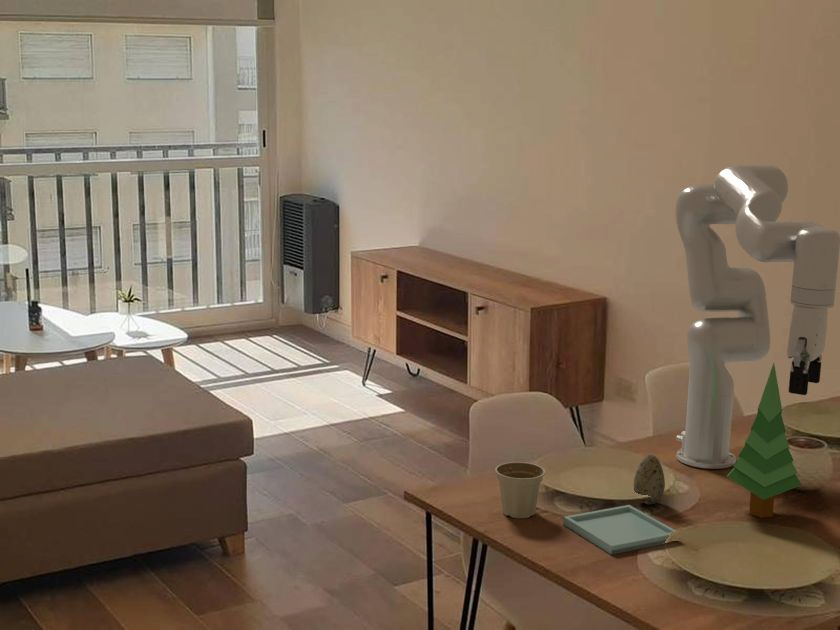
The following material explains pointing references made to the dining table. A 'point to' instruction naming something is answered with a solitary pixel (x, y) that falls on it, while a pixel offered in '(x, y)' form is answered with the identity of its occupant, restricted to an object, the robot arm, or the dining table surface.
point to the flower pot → (519, 488)
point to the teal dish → (619, 529)
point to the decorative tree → (766, 455)
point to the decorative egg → (650, 479)
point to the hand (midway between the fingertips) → (804, 387)
